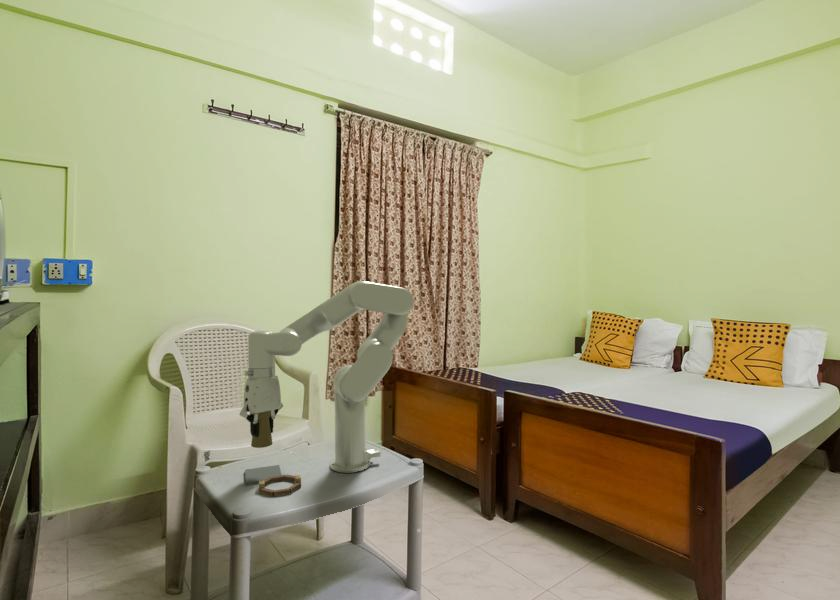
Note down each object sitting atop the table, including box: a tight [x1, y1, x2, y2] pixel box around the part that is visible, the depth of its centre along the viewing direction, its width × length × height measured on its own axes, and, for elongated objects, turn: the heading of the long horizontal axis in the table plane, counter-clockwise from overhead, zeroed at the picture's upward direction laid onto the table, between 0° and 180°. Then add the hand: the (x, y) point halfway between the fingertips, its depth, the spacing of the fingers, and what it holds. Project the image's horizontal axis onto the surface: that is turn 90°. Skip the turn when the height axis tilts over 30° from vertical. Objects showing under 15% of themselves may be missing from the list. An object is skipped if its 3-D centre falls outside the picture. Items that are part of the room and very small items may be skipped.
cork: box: [250, 411, 273, 449], centre depth 136 cm, size 6×6×11 cm
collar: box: [258, 474, 302, 498], centre depth 129 cm, size 11×11×2 cm
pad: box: [244, 464, 283, 486], centre depth 137 cm, size 10×10×1 cm
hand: (262, 433), depth 136 cm, fingers closed on cork, 4 cm apart
